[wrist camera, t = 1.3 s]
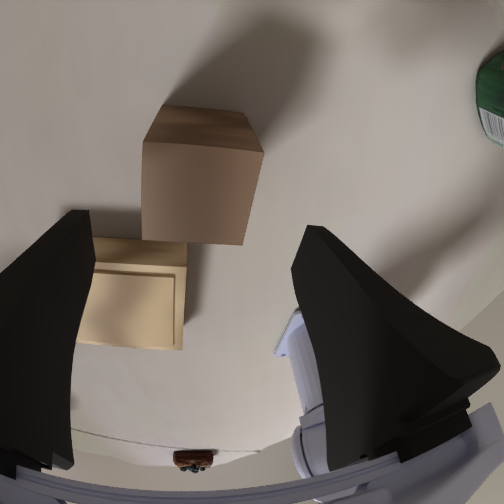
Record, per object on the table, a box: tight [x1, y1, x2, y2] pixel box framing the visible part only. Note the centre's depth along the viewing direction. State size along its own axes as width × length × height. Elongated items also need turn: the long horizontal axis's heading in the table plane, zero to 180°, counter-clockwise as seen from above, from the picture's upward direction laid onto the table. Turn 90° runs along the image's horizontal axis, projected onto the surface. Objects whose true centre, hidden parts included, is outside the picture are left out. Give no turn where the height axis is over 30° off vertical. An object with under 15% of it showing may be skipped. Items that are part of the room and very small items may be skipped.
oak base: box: [76, 237, 187, 350], centre depth 21 cm, size 10×10×3 cm
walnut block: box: [141, 105, 264, 245], centre depth 14 cm, size 4×4×6 cm
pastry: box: [173, 451, 213, 473], centre depth 65 cm, size 11×12×6 cm
